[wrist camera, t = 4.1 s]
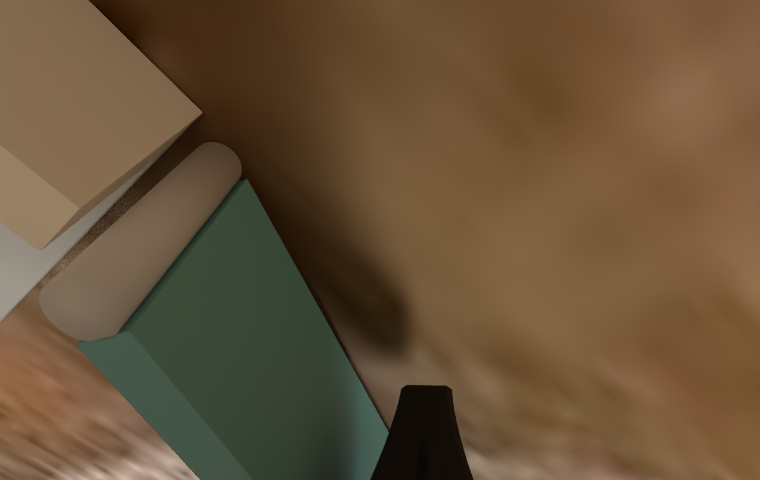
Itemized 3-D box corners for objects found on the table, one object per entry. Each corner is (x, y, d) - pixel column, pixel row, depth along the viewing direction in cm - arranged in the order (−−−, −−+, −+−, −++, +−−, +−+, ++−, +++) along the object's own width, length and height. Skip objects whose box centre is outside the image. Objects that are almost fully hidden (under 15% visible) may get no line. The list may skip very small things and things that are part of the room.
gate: (421, 489, 14) (416, 672, 10) (391, 492, 14) (376, 673, 10) (225, 135, 8) (84, 271, 5) (183, 150, 9) (21, 290, 5)
